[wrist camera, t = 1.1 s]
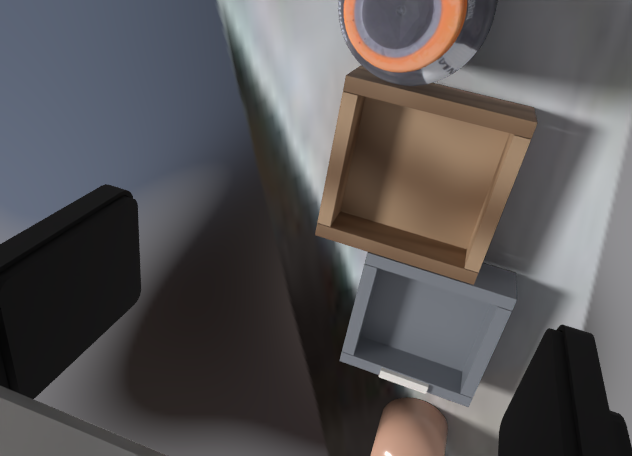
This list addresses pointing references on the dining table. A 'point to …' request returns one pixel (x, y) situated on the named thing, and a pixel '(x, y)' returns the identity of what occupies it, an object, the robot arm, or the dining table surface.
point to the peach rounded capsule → (410, 430)
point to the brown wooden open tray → (422, 172)
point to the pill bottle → (415, 36)
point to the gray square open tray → (428, 326)
